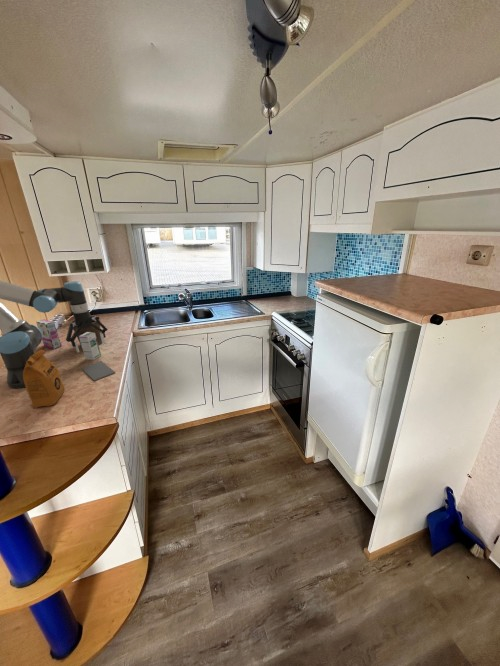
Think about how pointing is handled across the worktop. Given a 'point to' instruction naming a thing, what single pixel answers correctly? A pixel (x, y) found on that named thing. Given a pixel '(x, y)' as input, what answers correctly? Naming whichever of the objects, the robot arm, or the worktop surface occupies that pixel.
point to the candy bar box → (49, 334)
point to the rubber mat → (97, 370)
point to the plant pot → (90, 330)
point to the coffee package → (42, 380)
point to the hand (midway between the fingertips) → (91, 347)
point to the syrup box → (90, 345)
